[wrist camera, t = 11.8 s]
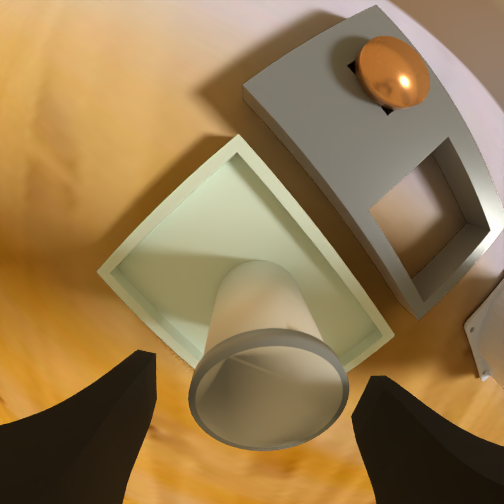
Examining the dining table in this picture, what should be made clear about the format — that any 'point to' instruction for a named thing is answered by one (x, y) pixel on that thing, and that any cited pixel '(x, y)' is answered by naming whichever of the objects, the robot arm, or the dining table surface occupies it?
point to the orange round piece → (392, 73)
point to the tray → (236, 258)
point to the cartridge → (265, 365)
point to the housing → (377, 150)
